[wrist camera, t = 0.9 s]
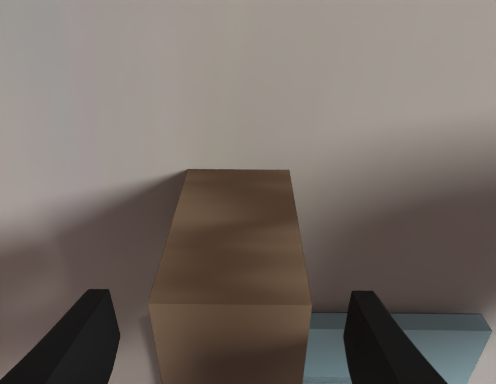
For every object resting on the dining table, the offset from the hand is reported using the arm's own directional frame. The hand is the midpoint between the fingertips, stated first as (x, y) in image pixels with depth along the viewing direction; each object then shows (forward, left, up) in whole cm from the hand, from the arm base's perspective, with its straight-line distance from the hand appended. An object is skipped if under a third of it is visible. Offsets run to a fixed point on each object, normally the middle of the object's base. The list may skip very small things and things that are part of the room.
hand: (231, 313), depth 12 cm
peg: (0, 0, -6) cm, 6 cm away
